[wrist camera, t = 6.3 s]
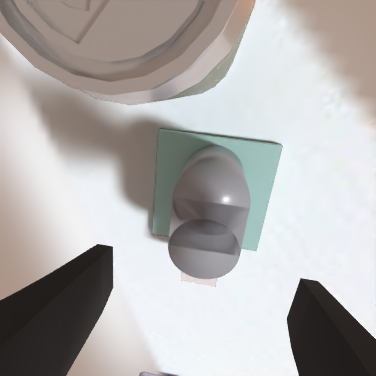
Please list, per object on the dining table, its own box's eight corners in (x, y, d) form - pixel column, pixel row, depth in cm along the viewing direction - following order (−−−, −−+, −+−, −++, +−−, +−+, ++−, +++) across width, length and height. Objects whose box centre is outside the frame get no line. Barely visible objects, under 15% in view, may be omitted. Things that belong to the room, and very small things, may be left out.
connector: (226, 261, 19) (227, 308, 15) (176, 253, 20) (163, 297, 16) (248, 149, 16) (258, 170, 12) (187, 141, 16) (175, 159, 12)
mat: (255, 247, 19) (256, 251, 19) (153, 230, 20) (152, 234, 19) (280, 144, 16) (282, 145, 16) (160, 128, 17) (158, 130, 16)
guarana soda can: (202, -33, 13) (110, -611, 2) (253, 58, 15) (349, -38, 4) (128, 35, 15) (-133, -115, 4) (179, 112, 16) (89, 161, 5)
